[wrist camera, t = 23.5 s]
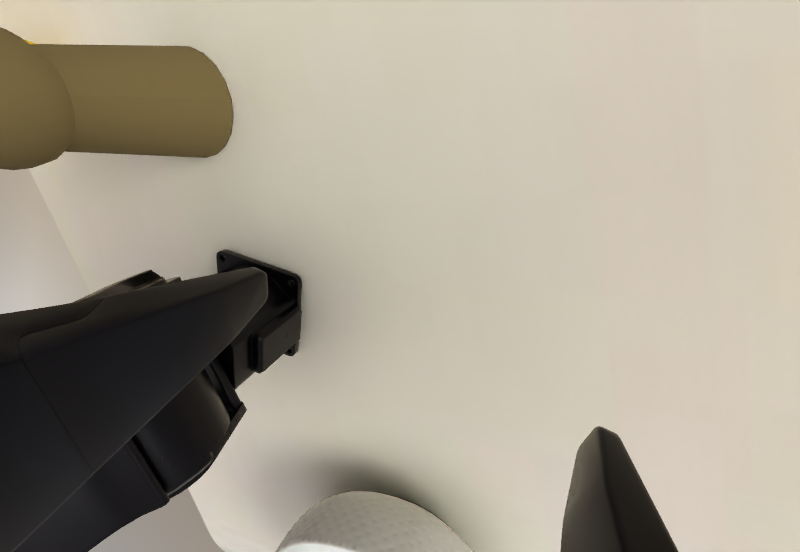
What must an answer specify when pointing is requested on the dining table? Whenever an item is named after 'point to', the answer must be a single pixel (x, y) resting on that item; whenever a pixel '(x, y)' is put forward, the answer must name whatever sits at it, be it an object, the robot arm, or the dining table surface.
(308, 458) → the dining table surface
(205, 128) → the cork
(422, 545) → the cereal bowl
